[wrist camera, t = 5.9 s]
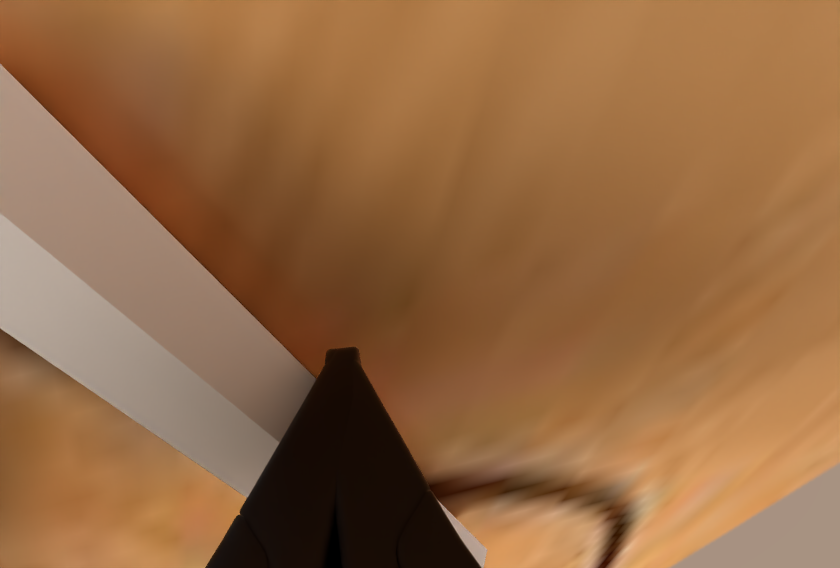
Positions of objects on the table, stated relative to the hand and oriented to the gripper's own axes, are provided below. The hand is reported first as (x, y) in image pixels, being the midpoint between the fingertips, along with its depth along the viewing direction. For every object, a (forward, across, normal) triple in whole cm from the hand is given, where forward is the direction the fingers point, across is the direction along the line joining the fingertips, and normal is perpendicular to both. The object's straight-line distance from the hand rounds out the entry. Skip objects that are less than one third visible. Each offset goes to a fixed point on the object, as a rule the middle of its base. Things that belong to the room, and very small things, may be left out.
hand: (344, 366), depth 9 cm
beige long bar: (+1, +2, 0) cm, 2 cm away
